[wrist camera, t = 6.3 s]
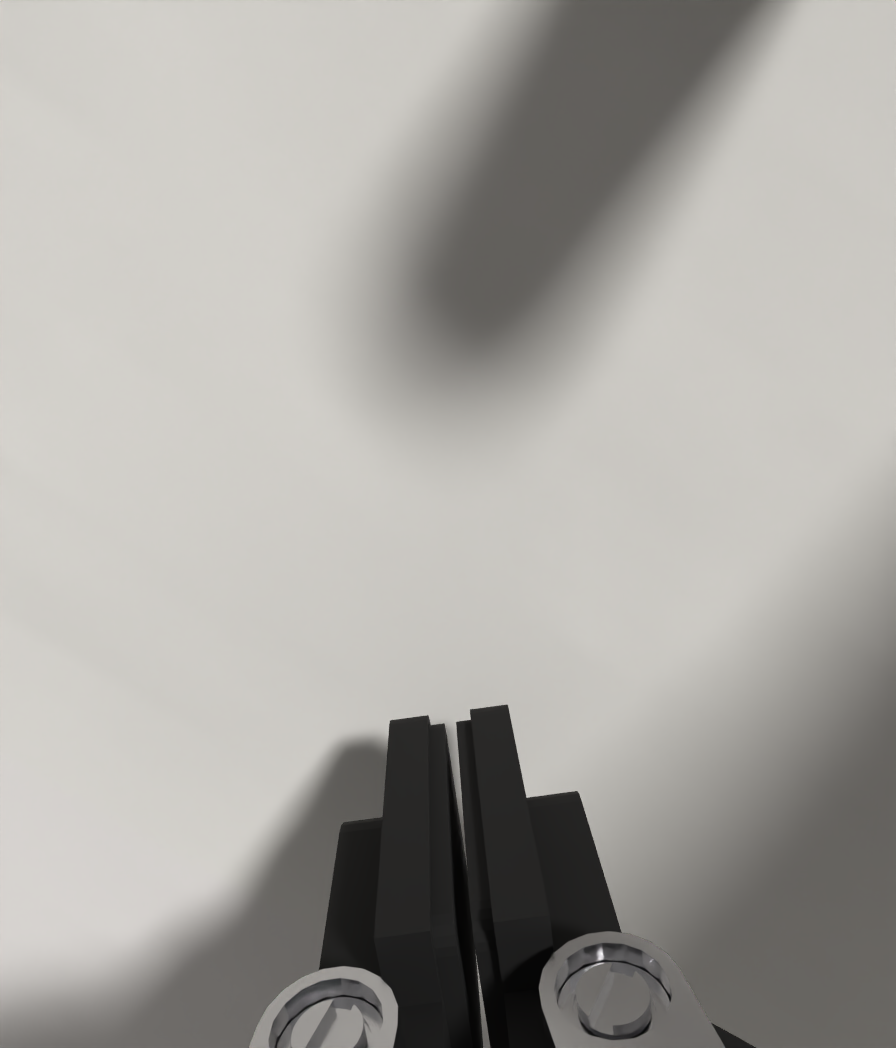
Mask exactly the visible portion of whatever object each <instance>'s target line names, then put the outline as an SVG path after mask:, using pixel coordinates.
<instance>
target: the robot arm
mask: <svg viewBox="0 0 896 1048" xmlns="http://www.w3.org/2000/svg"><path fill="white" fill-rule="evenodd" d="M470 715H471V720H467V721H460V722H456V725H457V738H458V752H459V765H460V778H461V791H462V804H463V817H464V830H465V844H466V857H467V865H466V858H465V852H464V845H463V839H462V832H461V826H460V819H459V813H458V806H457V800H456V793H455V787H454V780H453V774H452V767H451V761H450V754H449V748H448V741H447V735H446V729H445V724H438V725H430V720H429V716H428V715H427V716H420V717H412V718H405V719H398V720H391V721H390V725H389V738H388V752H387V765H386V779H385V793H384V806H383V817H381V818H373V819H366V820H359V821H351V822H344V823H343V824H342V825H341V829H340V833H339V840H338V847H337V853H336V860H335V867H334V873H333V880H332V887H331V893H330V900H329V907H328V914H327V920H326V927H325V934H324V940H323V947H322V954H321V961H320V967H319V971H316V972H314V973H311V974H309V975H306V976H304V977H301V978H300V979H299V980H297V981H296V982H294V983H293V984H291V985H290V986H288V987H287V988H285V989H284V990H283V991H282V992H281V993H280V994H279V995H278V996H277V997H276V998H275V999H274V1000H273V1001H272V1002H271V1003H270V1004H269V1005H268V1007H267V1008H266V1010H265V1012H264V1014H263V1016H262V1017H261V1019H260V1021H259V1023H258V1025H257V1027H256V1030H255V1032H254V1035H253V1037H252V1040H251V1043H250V1045H249V1048H483V1039H482V1027H481V1014H480V1001H479V989H478V976H477V963H478V969H479V976H480V982H481V989H482V995H483V1002H484V1008H485V1014H486V1021H487V1027H488V1034H489V1040H490V1046H491V1048H756V1047H754V1046H752V1045H750V1044H748V1043H747V1042H745V1041H743V1040H741V1039H739V1038H738V1037H736V1036H734V1035H732V1034H730V1033H729V1032H727V1031H725V1030H723V1029H722V1028H720V1027H718V1026H716V1025H714V1024H713V1023H711V1022H710V1020H709V1018H708V1017H707V1015H706V1013H705V1011H704V1010H703V1008H702V1006H701V1004H700V1003H699V1001H698V999H697V997H696V996H695V994H694V992H693V990H692V989H691V987H690V985H689V983H688V982H687V980H686V978H685V976H684V975H683V973H682V971H681V969H680V968H679V967H678V966H677V964H676V963H675V962H674V961H673V959H672V958H671V957H670V956H669V954H668V953H666V952H665V951H663V950H662V949H660V948H659V947H658V946H656V945H655V944H653V943H652V942H650V941H648V940H645V939H643V938H640V937H637V936H635V935H632V934H628V933H621V929H620V926H619V923H618V920H617V916H616V913H615V910H614V906H613V903H612V900H611V896H610V893H609V890H608V887H607V883H606V880H605V877H604V873H603V870H602V867H601V864H600V860H599V857H598V854H597V850H596V847H595V844H594V840H593V837H592V834H591V831H590V827H589V824H588V821H587V817H586V814H585V811H584V808H583V804H582V801H581V798H580V795H579V793H578V792H577V791H575V792H567V793H560V794H552V795H545V796H537V797H530V798H526V794H525V789H524V784H523V779H522V774H521V769H520V764H519V759H518V754H517V749H516V744H515V739H514V734H513V729H512V724H511V719H510V714H509V709H508V705H501V706H494V707H486V708H479V709H471V710H470ZM467 870H468V871H467ZM475 950H476V951H475ZM476 957H477V963H476Z"/></svg>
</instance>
